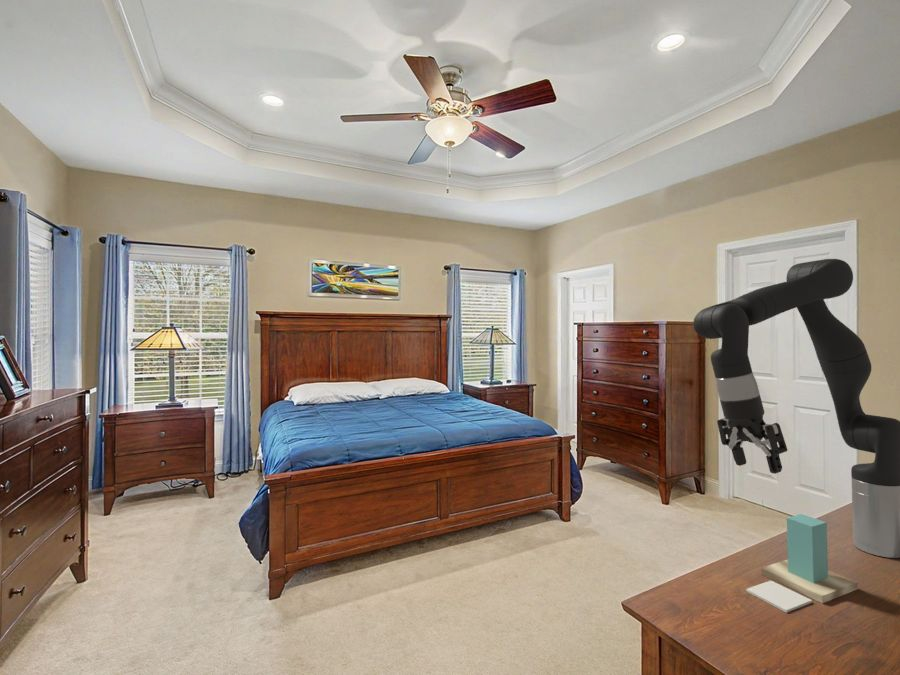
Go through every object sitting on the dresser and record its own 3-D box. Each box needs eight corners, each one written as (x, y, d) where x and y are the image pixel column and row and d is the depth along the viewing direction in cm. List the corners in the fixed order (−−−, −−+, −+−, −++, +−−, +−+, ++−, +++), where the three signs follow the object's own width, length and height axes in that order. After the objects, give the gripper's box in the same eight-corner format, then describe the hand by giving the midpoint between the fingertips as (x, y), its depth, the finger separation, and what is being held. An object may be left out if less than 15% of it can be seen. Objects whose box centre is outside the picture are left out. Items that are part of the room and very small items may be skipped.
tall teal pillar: (802, 566, 101) (801, 513, 101) (828, 577, 96) (826, 522, 96) (788, 571, 99) (786, 517, 99) (813, 583, 94) (812, 526, 94)
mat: (770, 582, 98) (770, 580, 98) (812, 602, 90) (811, 600, 90) (745, 591, 95) (745, 589, 95) (786, 612, 87) (786, 610, 87)
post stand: (795, 562, 105) (795, 535, 105) (857, 589, 94) (856, 558, 94) (761, 574, 101) (760, 545, 101) (822, 603, 90) (821, 571, 90)
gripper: (783, 392, 91) (803, 470, 90) (726, 390, 105) (744, 457, 104) (753, 401, 89) (774, 481, 89) (700, 397, 103) (718, 466, 103)
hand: (758, 468), depth 96 cm, fingers open, 8 cm apart
